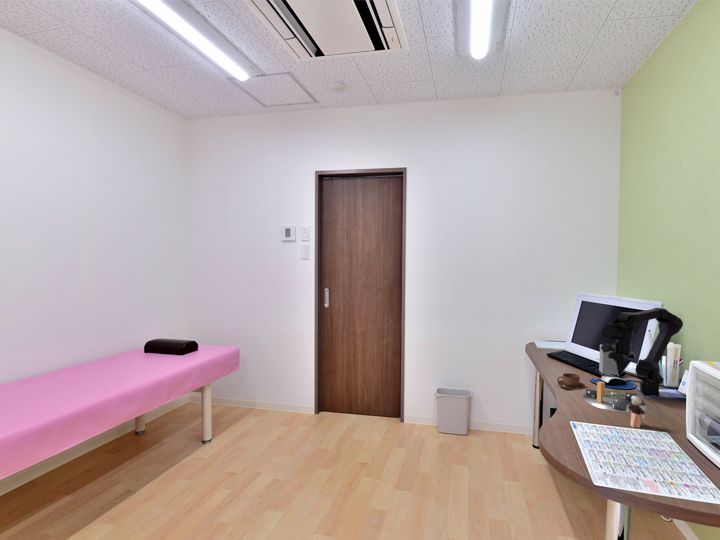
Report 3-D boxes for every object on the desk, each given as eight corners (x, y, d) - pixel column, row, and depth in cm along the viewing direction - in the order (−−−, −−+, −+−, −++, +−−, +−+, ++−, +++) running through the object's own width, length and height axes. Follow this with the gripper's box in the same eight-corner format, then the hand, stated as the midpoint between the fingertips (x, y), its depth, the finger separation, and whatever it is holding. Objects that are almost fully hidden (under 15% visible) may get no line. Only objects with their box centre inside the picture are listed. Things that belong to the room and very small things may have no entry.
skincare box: (602, 376, 214) (602, 346, 213) (598, 372, 220) (598, 343, 220) (620, 377, 211) (620, 347, 211) (616, 373, 218) (616, 344, 217)
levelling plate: (636, 397, 183) (636, 386, 182) (656, 417, 160) (656, 405, 160) (577, 392, 190) (577, 381, 190) (588, 411, 168) (588, 399, 168)
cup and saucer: (566, 392, 191) (566, 379, 191) (552, 384, 203) (552, 372, 203) (590, 391, 191) (590, 378, 191) (575, 383, 203) (575, 371, 203)
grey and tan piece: (629, 409, 165) (629, 389, 165) (621, 411, 164) (621, 391, 163) (602, 399, 176) (603, 381, 176) (595, 401, 175) (595, 382, 174)
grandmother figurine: (622, 425, 153) (622, 393, 153) (629, 424, 155) (629, 392, 154) (642, 434, 146) (642, 400, 146) (649, 432, 148) (650, 398, 147)
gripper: (611, 336, 194) (606, 368, 194) (597, 337, 182) (593, 370, 182) (638, 341, 186) (633, 374, 186) (626, 342, 173) (621, 378, 173)
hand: (619, 374), depth 182 cm, fingers closed
